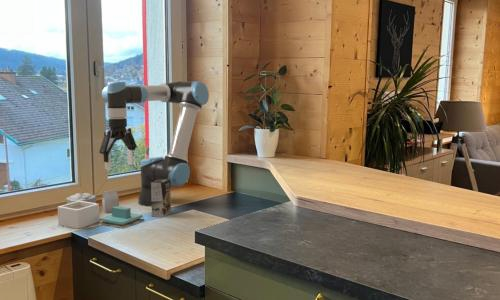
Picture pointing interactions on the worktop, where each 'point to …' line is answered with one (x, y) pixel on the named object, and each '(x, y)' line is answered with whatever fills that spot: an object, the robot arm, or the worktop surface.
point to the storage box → (78, 214)
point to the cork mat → (121, 225)
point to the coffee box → (161, 197)
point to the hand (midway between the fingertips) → (119, 167)
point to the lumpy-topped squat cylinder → (81, 198)
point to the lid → (121, 216)
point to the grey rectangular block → (109, 200)
